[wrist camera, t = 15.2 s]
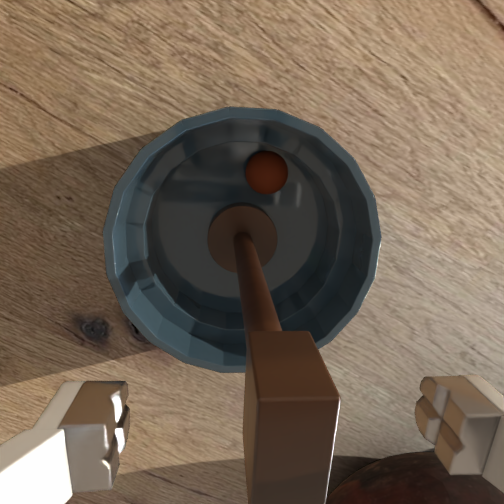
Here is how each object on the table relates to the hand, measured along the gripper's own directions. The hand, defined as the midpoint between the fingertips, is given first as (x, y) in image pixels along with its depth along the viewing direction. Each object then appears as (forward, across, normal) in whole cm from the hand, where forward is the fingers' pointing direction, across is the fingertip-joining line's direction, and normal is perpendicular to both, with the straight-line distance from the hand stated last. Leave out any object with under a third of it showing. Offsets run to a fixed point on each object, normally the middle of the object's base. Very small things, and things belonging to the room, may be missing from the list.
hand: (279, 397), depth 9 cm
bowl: (+19, 0, 0) cm, 19 cm away
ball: (+17, -2, -5) cm, 18 cm away
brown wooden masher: (+18, 0, 0) cm, 18 cm away
